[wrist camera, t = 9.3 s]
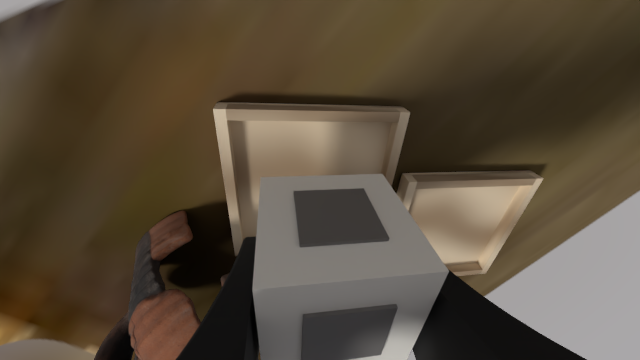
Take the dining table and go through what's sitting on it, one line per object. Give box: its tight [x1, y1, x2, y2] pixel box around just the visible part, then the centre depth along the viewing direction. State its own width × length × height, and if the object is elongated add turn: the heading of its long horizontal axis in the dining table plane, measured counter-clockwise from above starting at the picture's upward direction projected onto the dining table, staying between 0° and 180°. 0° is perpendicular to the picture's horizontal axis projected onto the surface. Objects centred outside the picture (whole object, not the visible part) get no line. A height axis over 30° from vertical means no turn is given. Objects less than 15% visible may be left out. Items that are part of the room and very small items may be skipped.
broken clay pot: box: [94, 211, 259, 360], centre depth 16 cm, size 12×10×8 cm
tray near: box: [213, 102, 410, 256], centre depth 15 cm, size 9×9×1 cm
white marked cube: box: [252, 174, 449, 360], centre depth 10 cm, size 5×5×5 cm
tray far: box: [396, 170, 543, 276], centre depth 18 cm, size 9×9×1 cm
